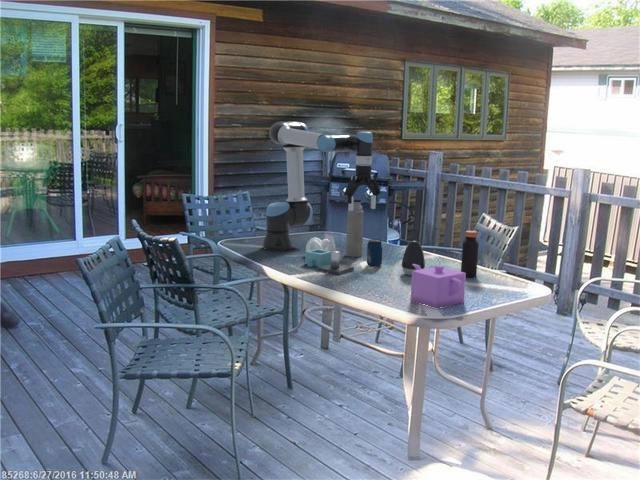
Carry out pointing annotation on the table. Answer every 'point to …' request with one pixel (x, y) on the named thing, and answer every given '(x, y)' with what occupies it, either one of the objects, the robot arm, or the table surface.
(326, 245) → the white coiled rope
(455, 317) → the table surface
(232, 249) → the table surface
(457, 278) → the teapot
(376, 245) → the soda can
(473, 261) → the black water bottle
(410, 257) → the egg shaped speaker
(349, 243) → the thermos bottle
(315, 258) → the teal rectangular planter
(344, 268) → the post base
